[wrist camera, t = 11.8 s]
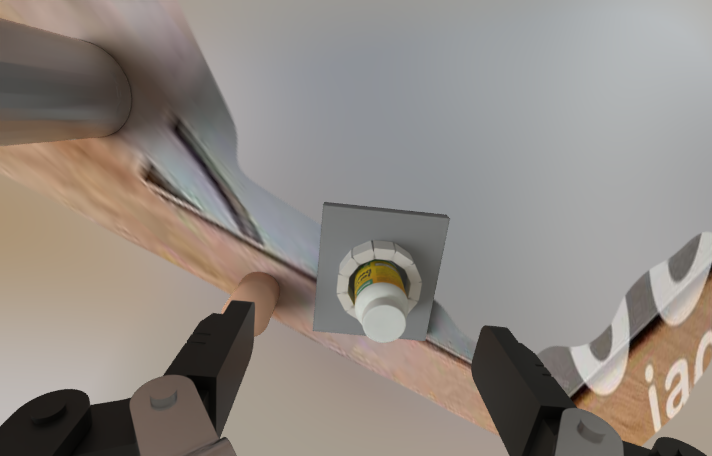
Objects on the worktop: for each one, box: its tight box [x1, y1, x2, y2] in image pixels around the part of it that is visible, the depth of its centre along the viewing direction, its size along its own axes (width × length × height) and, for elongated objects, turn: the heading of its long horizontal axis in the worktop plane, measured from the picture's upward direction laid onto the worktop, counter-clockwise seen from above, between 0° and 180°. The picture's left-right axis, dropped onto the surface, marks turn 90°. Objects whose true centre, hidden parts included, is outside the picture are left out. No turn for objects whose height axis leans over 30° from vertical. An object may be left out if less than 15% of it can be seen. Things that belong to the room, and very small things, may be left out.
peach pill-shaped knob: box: [221, 272, 280, 337], centre depth 40 cm, size 5×5×6 cm
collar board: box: [313, 202, 450, 341], centre depth 40 cm, size 14×16×4 cm
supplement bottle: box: [355, 259, 409, 343], centre depth 36 cm, size 5×5×10 cm
